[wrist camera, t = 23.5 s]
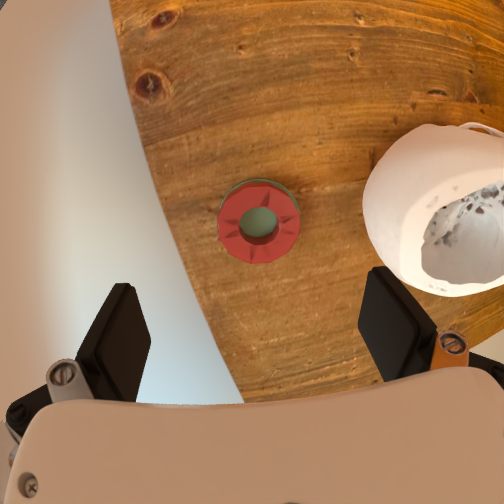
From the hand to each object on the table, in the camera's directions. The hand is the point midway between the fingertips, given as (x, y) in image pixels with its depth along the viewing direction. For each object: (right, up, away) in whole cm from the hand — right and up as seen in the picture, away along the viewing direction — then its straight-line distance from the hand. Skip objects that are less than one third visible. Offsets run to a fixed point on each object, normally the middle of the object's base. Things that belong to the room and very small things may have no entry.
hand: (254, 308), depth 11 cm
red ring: (+1, +5, +16) cm, 17 cm away
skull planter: (+19, +11, +16) cm, 27 cm away
